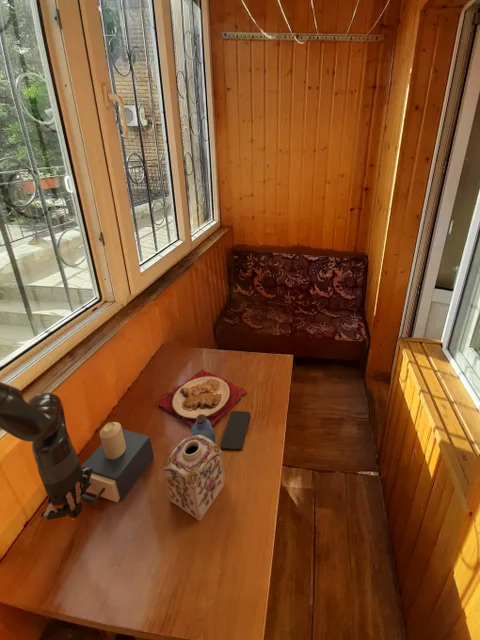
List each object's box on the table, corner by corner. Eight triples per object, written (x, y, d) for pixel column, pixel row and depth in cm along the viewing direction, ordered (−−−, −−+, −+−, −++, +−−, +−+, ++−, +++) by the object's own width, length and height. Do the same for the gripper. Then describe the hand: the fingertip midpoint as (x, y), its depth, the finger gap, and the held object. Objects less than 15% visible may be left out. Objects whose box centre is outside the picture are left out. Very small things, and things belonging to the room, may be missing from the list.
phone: (219, 447, 103) (231, 410, 117) (219, 449, 103) (231, 412, 117) (241, 449, 102) (250, 412, 116) (241, 451, 102) (251, 413, 116)
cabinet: (122, 500, 89) (116, 478, 85) (87, 488, 92) (80, 466, 89) (154, 457, 101) (149, 436, 98) (122, 447, 104) (116, 427, 101)
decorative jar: (197, 465, 98) (191, 422, 92) (227, 483, 93) (222, 438, 87) (168, 502, 88) (158, 456, 82) (199, 523, 83) (191, 477, 77)
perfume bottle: (193, 441, 106) (189, 414, 102) (211, 434, 109) (208, 407, 104) (197, 456, 101) (193, 429, 97) (216, 448, 103) (212, 421, 99)
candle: (130, 448, 94) (123, 423, 90) (112, 463, 90) (105, 437, 86) (119, 439, 97) (113, 415, 93) (101, 453, 92) (94, 428, 89)
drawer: (105, 518, 83) (99, 500, 81) (71, 506, 86) (65, 488, 84) (147, 461, 99) (143, 444, 96) (117, 452, 101) (113, 435, 99)
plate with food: (204, 436, 108) (203, 429, 107) (156, 404, 120) (155, 398, 119) (247, 393, 127) (247, 386, 126) (202, 369, 139) (201, 363, 138)
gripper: (72, 440, 83) (86, 485, 89) (20, 490, 71) (40, 538, 77) (94, 447, 81) (108, 492, 87) (45, 500, 69) (64, 548, 75)
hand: (76, 513), depth 82 cm, fingers closed
